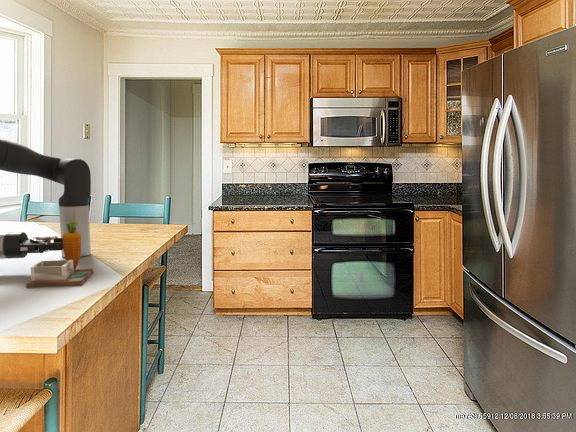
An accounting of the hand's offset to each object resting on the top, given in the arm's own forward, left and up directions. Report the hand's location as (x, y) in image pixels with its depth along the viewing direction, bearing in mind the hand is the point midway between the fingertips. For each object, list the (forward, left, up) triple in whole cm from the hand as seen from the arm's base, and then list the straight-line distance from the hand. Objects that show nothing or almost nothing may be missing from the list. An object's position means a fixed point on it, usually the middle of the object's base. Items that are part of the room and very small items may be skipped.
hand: (67, 243), depth 133 cm
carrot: (0, +1, -8) cm, 8 cm away
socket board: (+11, +1, -8) cm, 14 cm away
